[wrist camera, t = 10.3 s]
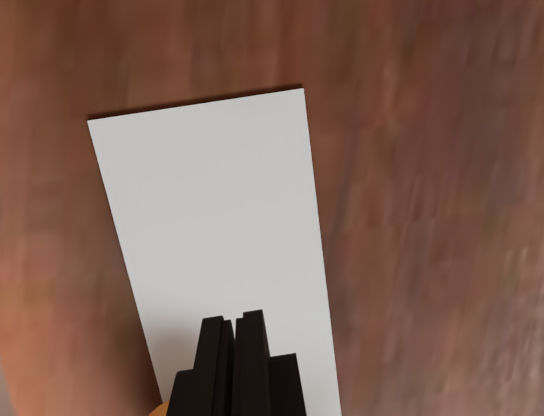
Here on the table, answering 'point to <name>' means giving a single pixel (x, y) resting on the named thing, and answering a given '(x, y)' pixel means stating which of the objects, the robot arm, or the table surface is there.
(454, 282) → the table surface
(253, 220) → the plate
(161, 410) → the ball
